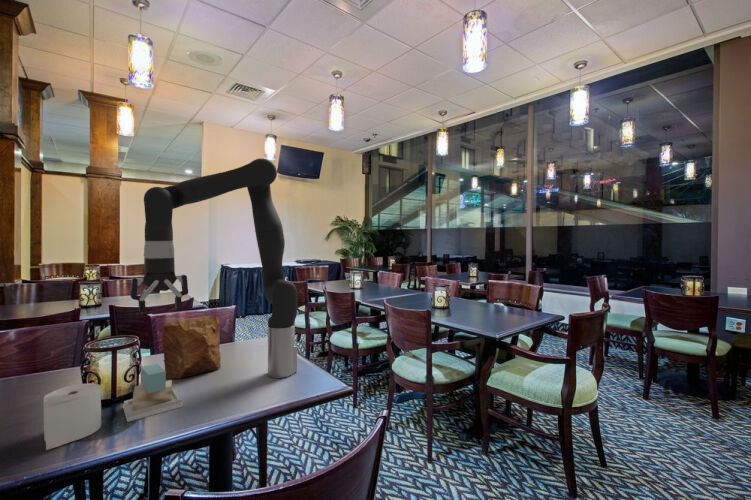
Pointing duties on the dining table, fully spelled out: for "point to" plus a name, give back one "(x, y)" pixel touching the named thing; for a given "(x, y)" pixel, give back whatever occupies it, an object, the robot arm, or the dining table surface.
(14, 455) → the dining table surface
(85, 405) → the toilet tissue
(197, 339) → the stone
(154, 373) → the teal block
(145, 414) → the jig
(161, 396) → the tan wooden block
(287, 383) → the dining table surface
